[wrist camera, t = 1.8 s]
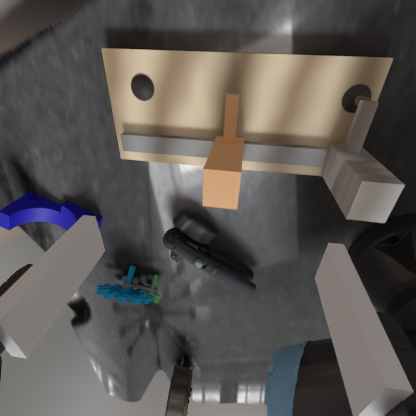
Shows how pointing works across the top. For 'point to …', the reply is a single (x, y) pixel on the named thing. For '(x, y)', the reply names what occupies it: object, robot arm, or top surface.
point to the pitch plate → (258, 115)
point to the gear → (130, 290)
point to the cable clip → (42, 212)
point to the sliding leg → (224, 161)
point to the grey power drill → (179, 391)
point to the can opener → (205, 251)
